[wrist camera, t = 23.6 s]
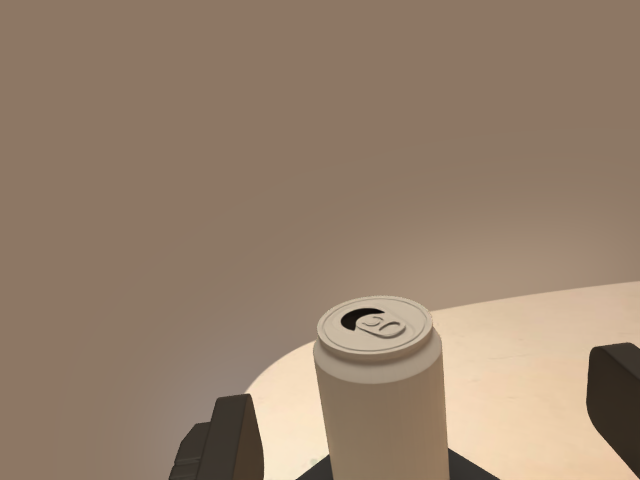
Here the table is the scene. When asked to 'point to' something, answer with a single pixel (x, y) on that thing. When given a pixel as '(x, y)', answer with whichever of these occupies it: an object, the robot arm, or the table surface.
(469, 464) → the mat
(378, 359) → the beverage can
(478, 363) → the table surface
